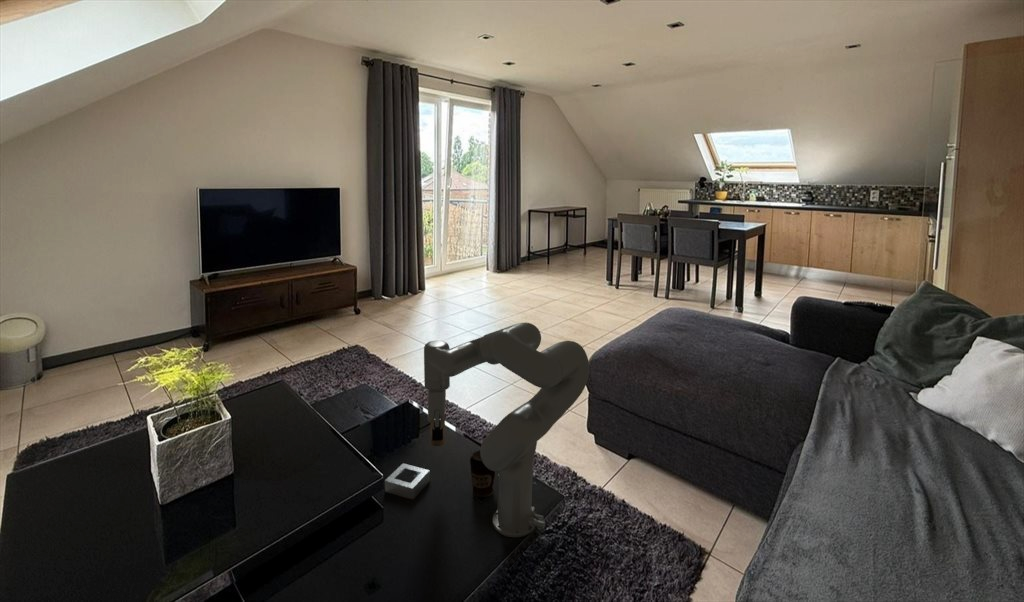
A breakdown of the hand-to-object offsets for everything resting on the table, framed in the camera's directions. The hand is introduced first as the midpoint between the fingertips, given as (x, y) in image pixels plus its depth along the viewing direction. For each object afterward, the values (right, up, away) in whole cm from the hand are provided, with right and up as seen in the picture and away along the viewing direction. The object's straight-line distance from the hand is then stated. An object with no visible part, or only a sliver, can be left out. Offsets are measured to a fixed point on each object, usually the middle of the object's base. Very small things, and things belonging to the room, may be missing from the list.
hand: (437, 434), depth 152 cm
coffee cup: (+14, -18, +1) cm, 23 cm away
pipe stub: (0, -3, +1) cm, 3 cm away
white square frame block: (-10, -17, +3) cm, 20 cm away
